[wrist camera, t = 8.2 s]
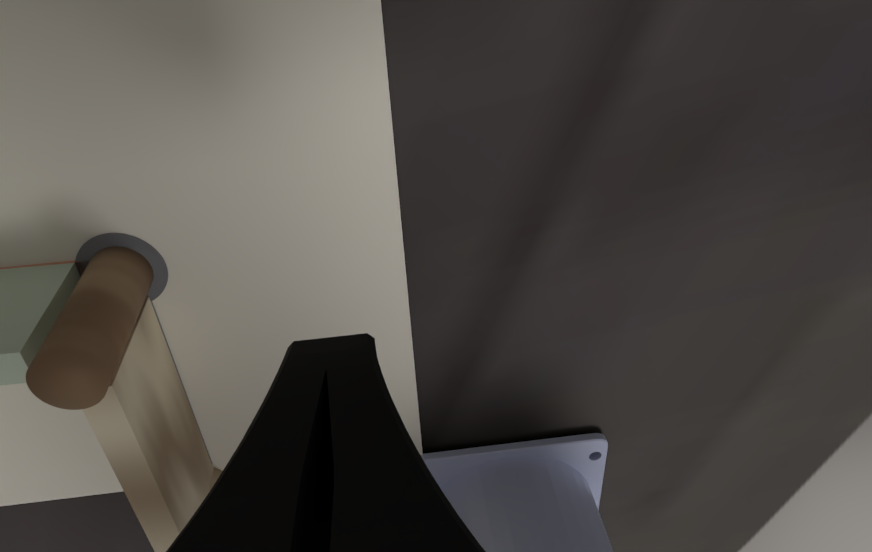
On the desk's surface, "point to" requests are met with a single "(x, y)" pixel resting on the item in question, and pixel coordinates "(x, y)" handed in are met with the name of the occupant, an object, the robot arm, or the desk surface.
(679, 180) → the desk surface
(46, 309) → the fence swing panel
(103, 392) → the fence fixed section
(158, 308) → the card
